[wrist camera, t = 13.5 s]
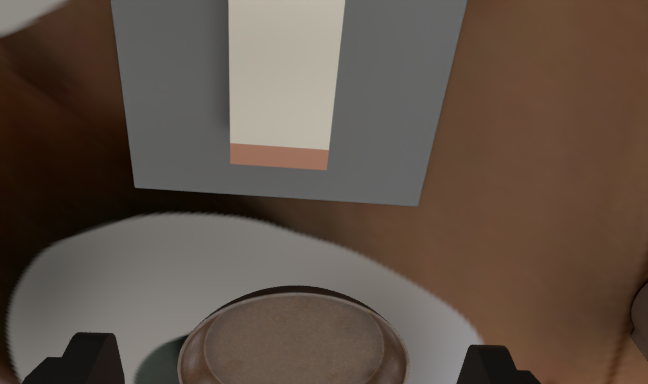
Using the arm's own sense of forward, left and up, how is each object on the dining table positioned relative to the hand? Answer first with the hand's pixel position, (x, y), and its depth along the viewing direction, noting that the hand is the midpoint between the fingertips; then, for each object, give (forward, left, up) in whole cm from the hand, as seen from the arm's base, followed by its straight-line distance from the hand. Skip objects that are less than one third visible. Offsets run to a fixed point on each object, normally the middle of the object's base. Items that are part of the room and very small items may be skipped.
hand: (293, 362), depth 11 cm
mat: (+1, +1, -19) cm, 19 cm away
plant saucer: (-23, -1, -20) cm, 30 cm away
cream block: (+1, +1, -19) cm, 19 cm away
